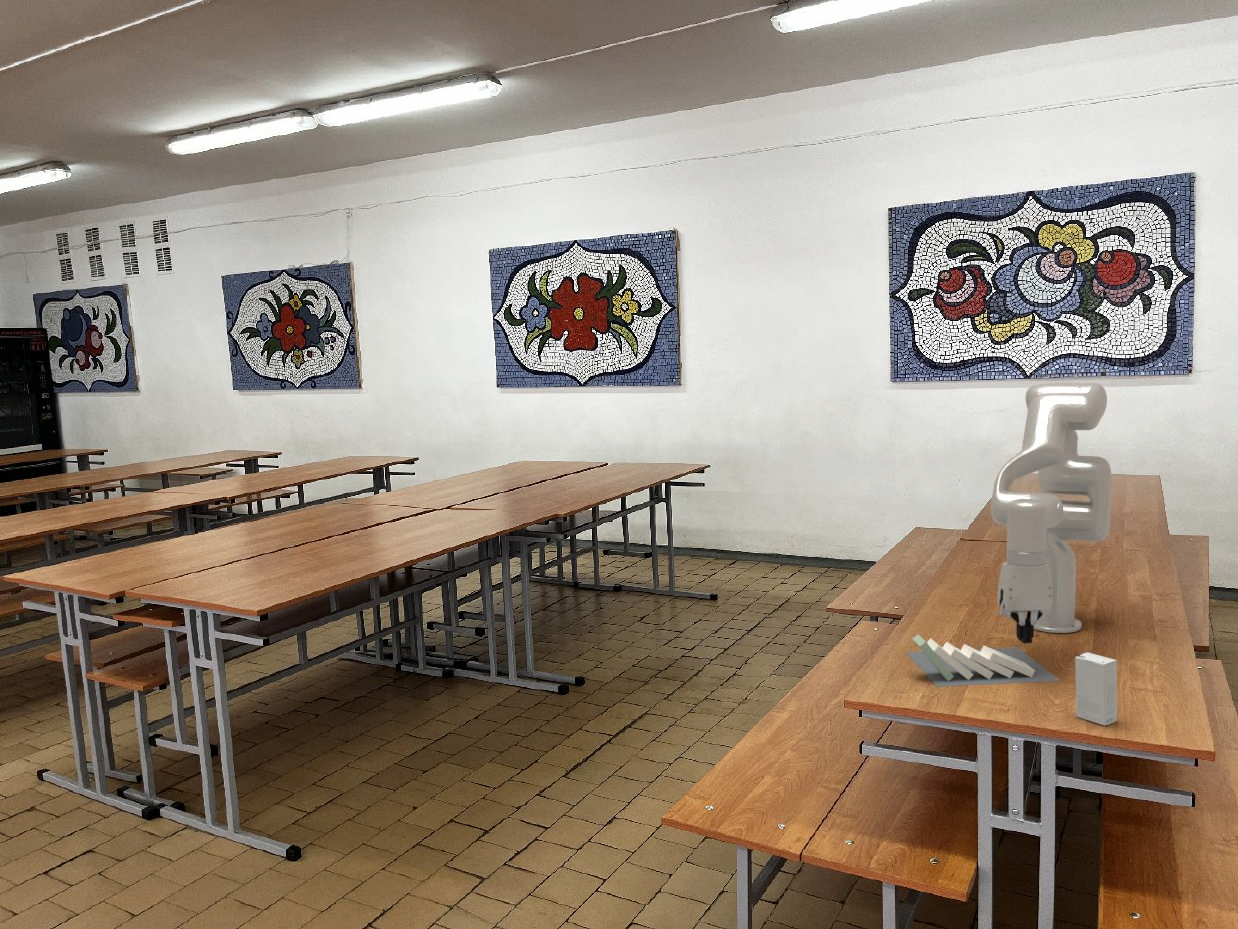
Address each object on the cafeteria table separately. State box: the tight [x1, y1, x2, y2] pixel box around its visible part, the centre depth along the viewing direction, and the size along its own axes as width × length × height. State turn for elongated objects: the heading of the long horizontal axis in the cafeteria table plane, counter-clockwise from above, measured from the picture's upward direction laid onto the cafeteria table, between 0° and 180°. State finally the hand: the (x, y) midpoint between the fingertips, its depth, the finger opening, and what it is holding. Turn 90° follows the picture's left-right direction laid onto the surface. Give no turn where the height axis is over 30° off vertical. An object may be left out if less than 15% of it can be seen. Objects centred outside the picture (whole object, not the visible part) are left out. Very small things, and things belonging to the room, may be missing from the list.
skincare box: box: [1074, 652, 1118, 727], centre depth 176 cm, size 6×4×12 cm
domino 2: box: [941, 641, 994, 679], centre depth 200 cm, size 2×5×10 cm
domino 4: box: [980, 644, 1035, 677], centre depth 200 cm, size 2×5×10 cm
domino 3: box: [960, 643, 1014, 678], centre depth 200 cm, size 2×5×10 cm
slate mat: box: [905, 646, 1062, 688], centre depth 206 cm, size 26×21×1 cm
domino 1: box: [926, 638, 974, 680], centre depth 200 cm, size 2×5×10 cm
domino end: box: [912, 634, 954, 681], centre depth 200 cm, size 2×5×10 cm
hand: (1024, 641), depth 199 cm, fingers closed
